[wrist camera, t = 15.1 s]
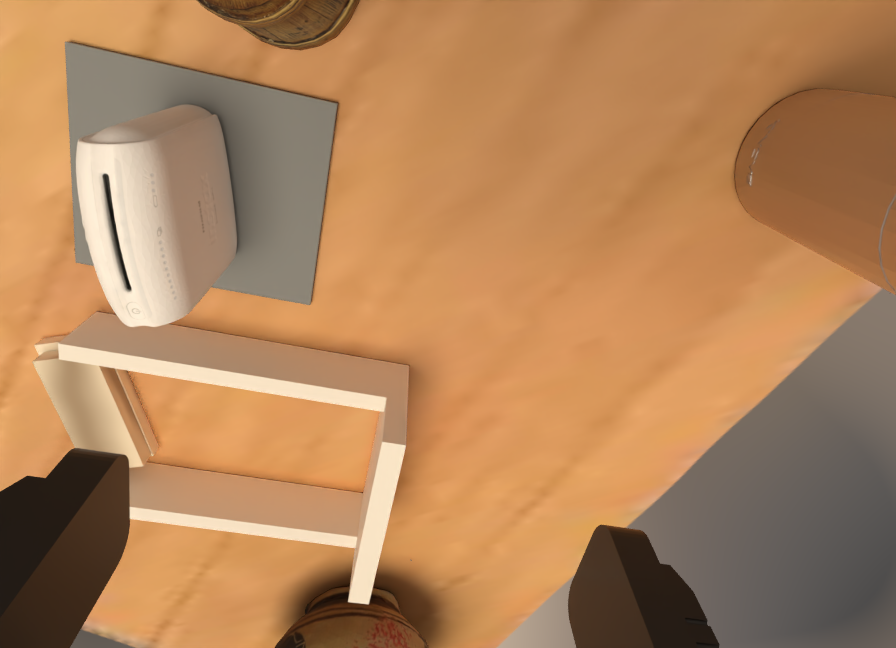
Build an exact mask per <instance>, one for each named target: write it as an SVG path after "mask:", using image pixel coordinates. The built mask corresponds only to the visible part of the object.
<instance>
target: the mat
mask: <svg viewBox="0 0 896 648" xmlns="http://www.w3.org/2000/svg"><path fill="white" fill-rule="evenodd" d="M65 52H66V72H67V93H68V114H69V134H70V155H71V176H72V196H73V217H74V237H75V258H76V263H81V264H87V265H92V266H94V264H93V261H92V257H91V254H90V251H89V246H88V243H87V241H86V237H85V229H84V227H83V224H82V215H81V210H80V204H79V197H78V189H77V178H76V151H77V142H78V140H79V138H81V137H84V136H87V135H89V134H93V133H96V132H99V131H101V130H103V129H105V128H108V127H110V126H114V125H117V124H120V123H123V122H127V121H130V120H133V119H136V118H140V117H143V116H146V115H149V114H152V113H156V112H159V111H162V110H165V109H169V108H172V107H175V106H179V105H184V104H189V105H195V106H199V107H201V108H203V109H205V110H207V111H208V112H210V113H211V114H212V115H214V114H215V115H217V117H218V119H219V122H220V125H221V128H222V133H223V137H224V143H225V148H226V154H227V160H228V167H229V173H230V180H231V187H232V195H233V203H234V212H235V222H236V233H237V248H236V255H235V257H234V259H233V260H232V262H231V263H230V264H229V266H228V267H227V268H226V269H225V271H224V272H223V273H222V274H221V275H220V277H219V278H218V279H217V280H216V282H215V283H214V284H213V285H212V286H211V287H213V288H219V289H224V290H230V291H235V292H241V293H246V294H252V295H257V296H262V297H268V298H273V299H279V300H284V301H290V302H295V303H301V304H306V305H310V304H311V300H312V293H313V286H314V278H315V271H316V263H317V256H318V248H319V241H320V234H321V226H322V219H323V211H324V204H325V197H326V189H327V182H328V174H329V167H330V159H331V152H332V145H333V137H334V130H335V122H336V115H337V107H338V103H336V102H332V101H327V100H323V99H319V98H314V97H310V96H305V95H301V94H297V93H292V92H288V91H283V90H279V89H275V88H270V87H266V86H261V85H257V84H253V83H248V82H244V81H240V80H235V79H231V78H226V77H222V76H218V75H213V74H209V73H204V72H200V71H196V70H191V69H187V68H183V67H178V66H174V65H169V64H165V63H161V62H156V61H152V60H147V59H143V58H139V57H134V56H130V55H125V54H121V53H117V52H112V51H108V50H104V49H99V48H95V47H90V46H86V45H82V44H77V43H73V42H65Z"/></svg>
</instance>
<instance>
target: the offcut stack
mask: <svg viewBox="0 0 896 648" xmlns="http://www.w3.org/2000/svg"><path fill="white" fill-rule="evenodd" d="M66 336H67V335H64V336H56V337H49V338H43V339H42V340H40V341H39V342H38V343H36V344H35V345H34V346H35V348H36V350H37V352H38V354H39V357H37V358H36V359H35V360H34V361H33V364H34V366H35V368H36V370H37V372H38V374H39V376H40V378H41V380H42V382H43V384H44V386H45V388H46V390H47V392H48V394H49V396H50V398H51V400H52V402H53V404H54V406H55V408H56V410H57V412H58V414H59V416H60V418H61V420H62V422H63V424H64V426H65V428H66V430H67V432H68V434H69V436H70V438H71V440H72V442H73V444H74V446H75V448H82V449H89V450H96V451H103V452H110V453H117V454H124V455H126V456H127V457H128V460H129V468H133V467H141V466H144V465H145V463H146V462H147V460H148V459H149V457H150V456H154V455H155V453H156V451H157V450H158V448H159V445H158V443H157V440H156V438H155V436H154V433H153V431H152V429H151V426H150V424H149V421H148V419H147V417H146V414H145V412H144V410H143V407H142V405H141V402H140V400H139V398H138V395H137V393H136V391H135V388H134V386H133V384H132V381H131V379H130V376H129V374H128V372H127V370H121V369H115V368H109V367H103V366H97V365H91V364H84V363H78V362H72V361H66V360H60V359H59V352H58V343H59V342H60V341H61V340H63V339H64V338H65V337H66Z"/></svg>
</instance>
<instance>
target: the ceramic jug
mask: <svg viewBox="0 0 896 648" xmlns="http://www.w3.org/2000/svg"><path fill="white" fill-rule="evenodd" d="M411 561H412V560H411ZM349 590H350V587H339V588H334V589H330V590H328V591H327V592H325V593H323V594H322V595H320V596H318V597H316V598H315V599H314V600H313V601H312V602H311V603H309V604H308V605H307V607H306V609H305V616H303V617H302V618H301V619H299V620H298V621H297V622H296V623H295V624H294V625H293V626H292V627H291V628H290V629H289V630H288V631H287V632H286V634H285V635H284V636H283V637H282V639H281V640H280V641H279V642H278V643H277V645H276V646H275V648H428V645H427V643H426V641H425V639H424V638H423V637H422V636H421V634H420V633H419V632H418V631H417V630H416V629H415V628H414V627H413V626H412V625H411V624H410V623H409V622H408V621H407V620H406V619H405V618H404V617H403V615H402V614H401V612H400V608H399V605H398V602H397V600H396V599H395V597H394V595H393V594H391V593H390V592H388V591H384V590H379V589H375V588H372V593H371V597H370V601H369V604H360V603H352V602H348V598H349Z"/></svg>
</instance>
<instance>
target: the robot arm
mask: <svg viewBox="0 0 896 648" xmlns="http://www.w3.org/2000/svg"><path fill="white" fill-rule="evenodd" d="M735 184H736V191H737V194H738V197H739V200H740V202H741V204H742V205H743V207H744V208H745V210H746V211H747V212H748V213H749V214H750V215H751V216H752V217H754V218H755V219H756V220H758V221H759V222H761V223H763V224H765V225H767V226H769V227H771V228H772V229H774V230H776V231H778V232H780V233H782V234H783V235H785V236H787V237H789V238H790V239H792V240H794V241H796V242H798V243H800V244H801V245H803V246H805V247H807V248H809V249H811V250H813V251H814V252H816V253H818V254H820V255H822V256H824V257H826V258H827V259H829V260H831V261H833V262H835V263H837V264H839V265H840V266H842V267H844V268H846V269H848V270H850V271H852V272H854V273H855V274H857V275H859V276H861V277H863V278H865V279H867V280H868V281H870V282H872V283H874V284H876V285H878V286H880V287H881V288H883V289H885V290H887V291H889V292H891V293H893V294H895V295H896V97H890V96H882V95H875V94H868V93H860V92H851V91H843V90H834V89H812V90H807V91H802V92H799V93H797V94H794V95H792V96H790V97H787V98H785V99H784V100H782V101H781V102H779V103H777V104H776V105H774V106H773V107H771V108H770V109H769V110H768V111H767V112H766V113H765V114H764V115H763V116H762V117H761V118H760V119H759V120H758V121H757V122H756V123H755V125H754V126H753V127H752V129H751V130H750V131H749V133H748V135H747V136H746V138H745V140H744V142H743V144H742V146H741V148H740V152H739V155H738V158H737V161H736V169H735ZM129 527H130V491H129V460H128V457H127V456H126V455H124V454H117V453H110V452H103V451H96V450H89V449H82V448H74V449H72V450H71V451H69V452H68V453H67V454H66V455H65V456H64V457H63V459H62V460H61V461H60V462H59V463H58V464H57V466H56V467H55V468H54V469H53V470H52V471H51V473H50V474H49V475H48V476H47V477H46V478H40V477H33V476H26V477H24V478H23V479H21V480H19V481H18V482H16V483H14V484H13V485H11V486H9V487H7V488H6V489H4V490H2V491H1V492H0V648H70V646H71V645H72V643H73V641H74V639H75V638H76V636H77V634H78V633H79V631H80V629H81V628H82V626H83V624H84V622H85V621H86V619H87V617H88V615H89V614H90V612H91V610H92V609H93V607H94V605H95V603H96V602H97V600H98V598H99V596H100V595H101V593H102V591H103V590H104V588H105V586H106V584H107V583H108V581H109V579H110V578H111V576H112V574H113V572H114V571H115V569H116V567H117V565H118V563H119V561H120V559H121V557H122V554H123V552H124V549H125V546H126V543H127V539H128V534H129ZM568 610H569V611H568V612H569V620H570V624H571V628H572V632H573V636H574V640H575V644H576V648H719V643H718V641H717V639H716V637H715V635H714V633H713V631H712V629H711V627H710V626H708V625H707V619H706V616H705V614H704V612H703V610H702V609H701V607H700V604H699V602H698V600H697V598H696V596H695V594H694V592H693V591H692V590H691V588H690V587H689V586H688V585H687V584H686V583H685V582H684V580H683V579H682V578H681V577H680V576H679V575H678V574H677V572H676V571H675V570H674V569H673V568H672V567H671V566H670V565H665V564H660V563H659V560H658V558H657V556H656V554H655V552H654V549H653V547H652V545H651V543H650V541H649V539H648V537H647V535H646V534H645V533H644V532H643V531H641V530H635V529H628V528H621V527H614V526H607V525H599V526H598V527H597V528H596V529H595V531H594V533H593V535H592V537H591V539H590V542H589V544H588V546H587V549H586V551H585V553H584V556H583V558H582V560H581V562H580V565H579V567H578V569H577V572H576V574H575V576H574V579H573V581H572V584H571V587H570V591H569V599H568Z"/></svg>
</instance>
